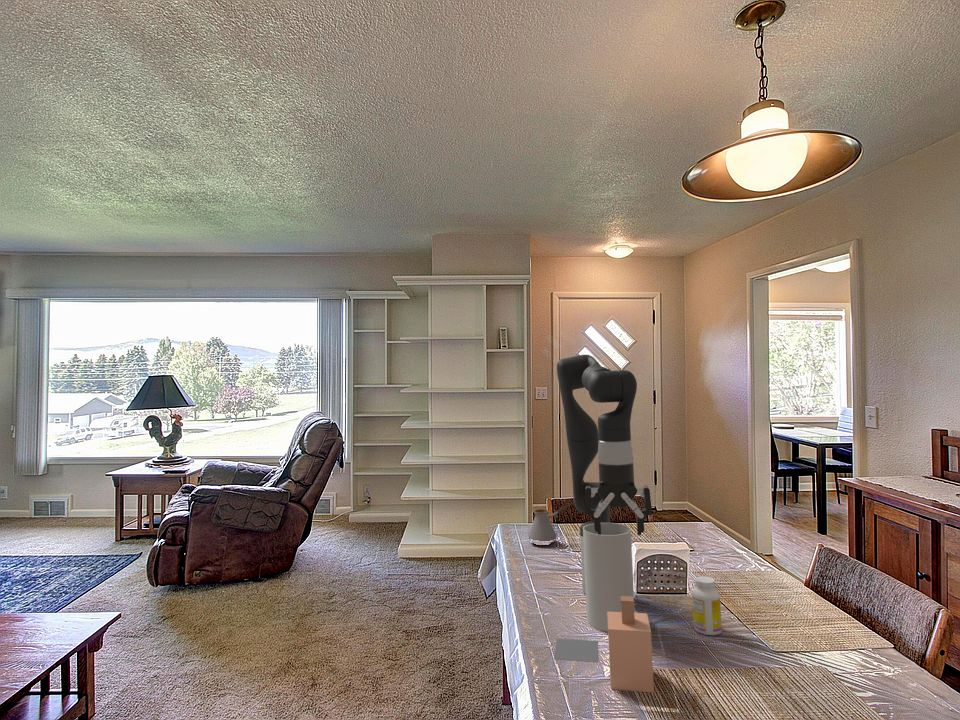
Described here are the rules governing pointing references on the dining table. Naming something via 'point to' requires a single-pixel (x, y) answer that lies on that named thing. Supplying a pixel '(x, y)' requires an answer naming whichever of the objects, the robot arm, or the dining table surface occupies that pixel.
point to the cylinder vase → (606, 571)
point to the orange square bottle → (630, 649)
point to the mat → (576, 650)
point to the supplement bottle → (706, 607)
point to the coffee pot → (544, 525)
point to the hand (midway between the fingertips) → (619, 534)
